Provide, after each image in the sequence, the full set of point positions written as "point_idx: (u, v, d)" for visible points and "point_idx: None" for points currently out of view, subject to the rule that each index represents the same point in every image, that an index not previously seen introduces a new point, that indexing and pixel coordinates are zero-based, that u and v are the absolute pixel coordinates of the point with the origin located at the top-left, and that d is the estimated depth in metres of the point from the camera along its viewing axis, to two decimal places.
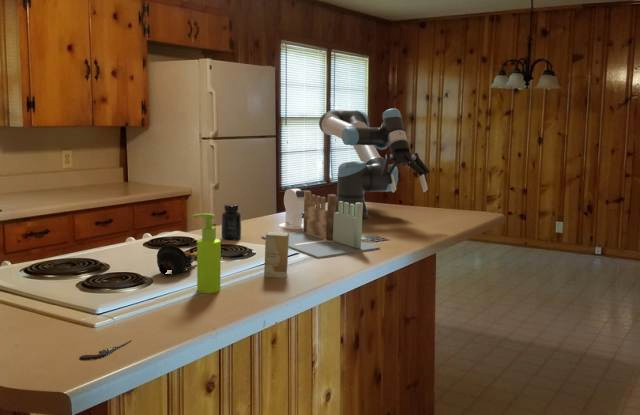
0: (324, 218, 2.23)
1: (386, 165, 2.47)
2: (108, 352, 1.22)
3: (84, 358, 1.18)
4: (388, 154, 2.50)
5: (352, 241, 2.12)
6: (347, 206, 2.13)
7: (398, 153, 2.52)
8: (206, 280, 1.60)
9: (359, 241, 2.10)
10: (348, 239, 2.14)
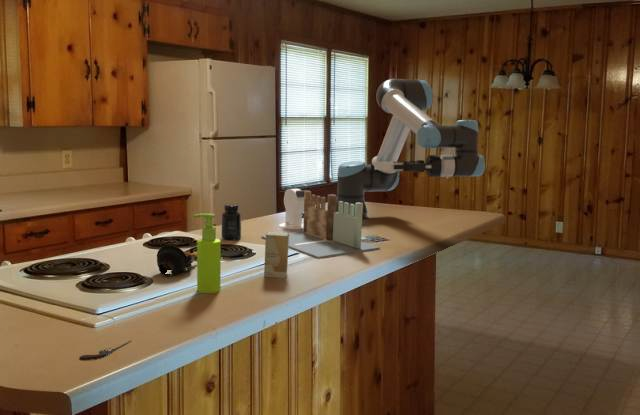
0: (324, 218, 2.23)
1: (415, 170, 2.08)
2: (108, 352, 1.22)
3: (84, 358, 1.18)
4: (428, 170, 2.10)
5: (352, 241, 2.12)
6: (347, 206, 2.13)
7: None
8: (206, 280, 1.60)
9: (359, 241, 2.10)
10: (348, 239, 2.14)
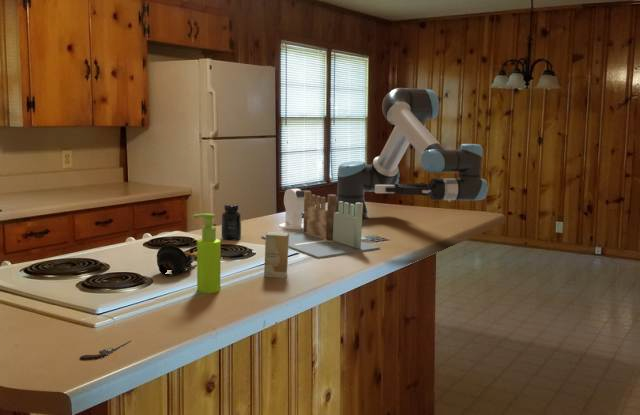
0: (324, 218, 2.23)
1: None
2: (108, 352, 1.22)
3: (84, 358, 1.18)
4: (425, 195, 2.10)
5: (352, 241, 2.12)
6: (347, 206, 2.13)
7: (432, 193, 2.14)
8: (206, 280, 1.60)
9: (359, 241, 2.10)
10: (348, 239, 2.14)
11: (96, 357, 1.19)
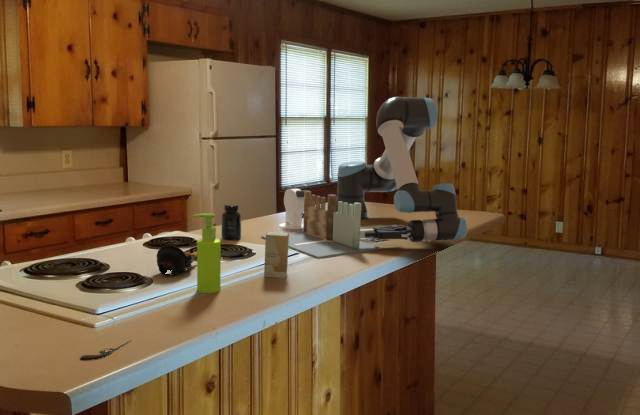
0: (324, 218, 2.23)
1: None
2: (109, 352, 1.22)
3: (85, 358, 1.18)
4: None
5: (350, 241, 2.12)
6: (346, 206, 2.13)
7: None
8: (206, 280, 1.60)
9: (357, 241, 2.09)
10: (347, 239, 2.13)
11: (97, 357, 1.19)
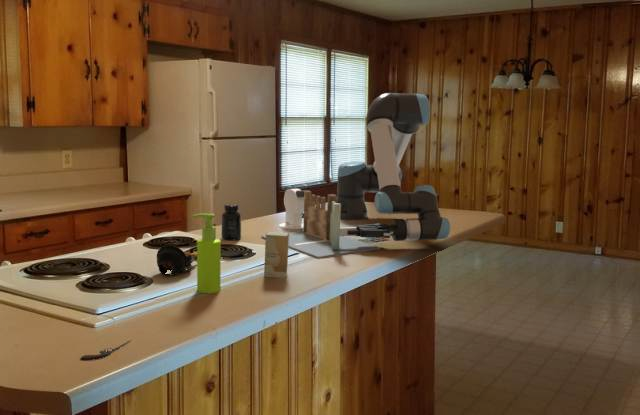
0: (324, 218, 2.23)
1: None
2: (109, 352, 1.22)
3: (85, 358, 1.18)
4: None
5: None
6: None
7: None
8: (206, 280, 1.60)
9: (335, 242, 2.07)
10: None
11: (97, 357, 1.19)
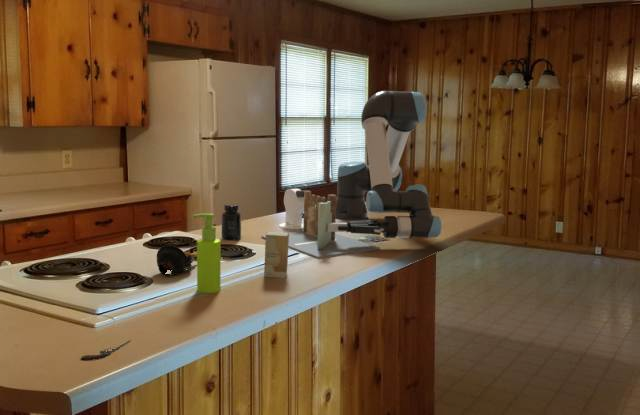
0: None
1: None
2: (109, 352, 1.22)
3: (86, 358, 1.18)
4: None
5: None
6: (326, 206, 2.12)
7: None
8: (206, 280, 1.60)
9: (319, 241, 2.07)
10: None
11: (97, 357, 1.19)
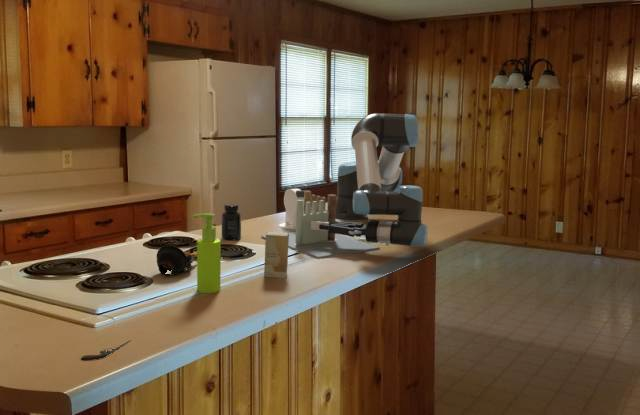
0: None
1: (338, 233, 2.07)
2: (109, 352, 1.22)
3: (86, 358, 1.18)
4: None
5: None
6: (313, 204, 2.14)
7: None
8: (206, 280, 1.60)
9: (296, 238, 2.12)
10: None
11: (98, 357, 1.19)
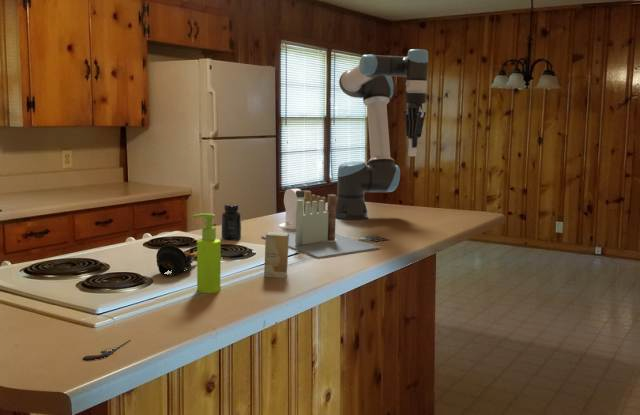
0: None
1: (406, 126, 2.39)
2: (110, 352, 1.22)
3: (88, 359, 1.18)
4: (404, 113, 2.40)
5: None
6: (313, 204, 2.15)
7: (409, 104, 2.36)
8: (206, 280, 1.60)
9: (296, 237, 2.12)
10: None
11: (99, 357, 1.19)
